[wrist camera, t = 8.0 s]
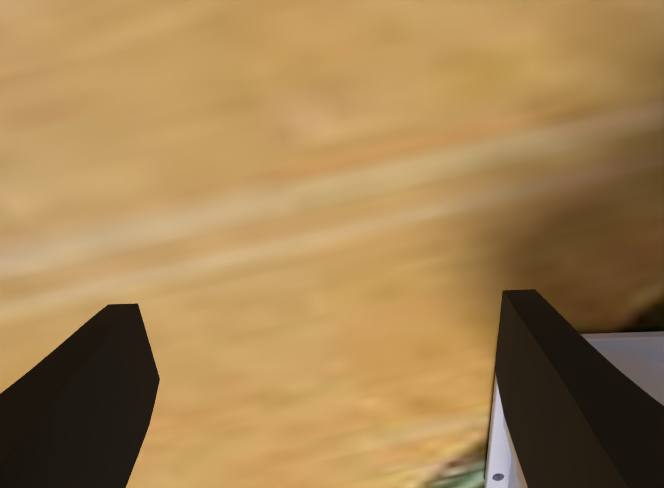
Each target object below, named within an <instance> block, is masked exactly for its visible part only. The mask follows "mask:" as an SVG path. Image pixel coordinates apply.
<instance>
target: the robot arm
mask: <svg viewBox="0 0 664 488" xmlns="http://www.w3.org/2000/svg"><path fill="white" fill-rule="evenodd" d="M495 373H496V374H495V384H494V394H493V404H492V414H491V424H490V433H489V443H488V453H487V463H486V473H485V483H484V486H485V488H664V331H660V332H629V333H597V334H579V333H578V332H577V331H576V330H575V329H574V328H573V327H572V326H571V325H570V324H569V323H568V322H567V321H566V320H565V319H564V318H563V317H562V316H561V315H560V314H559V313H558V312H557V311H556V310H555V309H554V308H553V307H552V306H551V305H550V304H549V303H548V302H547V301H546V300H545V299H544V298H543V297H542V296H541V295H540V294H539V293H538V292H537V291H536V290H535V289H531V290H503V293H502V303H501V313H500V323H499V333H498V343H497V353H496V363H495ZM159 380H160V378H159V375H158V371H157V368H156V364H155V361H154V358H153V354H152V351H151V347H150V344H149V340H148V337H147V333H146V330H145V326H144V323H143V320H142V316H141V313H140V309H139V306H138V304H113V305H107V306H106V307H105V308H103V309H102V310H101V311H99V312H98V313H97V314H96V315H95V316H93V317H92V318H91V319H90V320H89V321H87V322H86V323H85V324H84V325H83V326H82V327H80V328H79V329H78V330H77V331H76V332H75V333H74V334H72V335H71V336H70V337H69V338H68V339H67V340H65V341H64V342H63V343H62V344H61V345H60V346H58V347H57V348H56V349H55V350H54V351H53V352H51V353H50V354H49V355H48V356H47V357H45V358H44V359H43V360H42V361H41V362H40V363H38V364H37V365H36V366H35V367H34V368H32V369H31V370H30V371H29V372H28V373H26V374H25V375H24V376H23V377H21V378H20V379H19V380H17V381H16V382H15V383H14V384H12V385H11V386H10V387H8V388H7V389H6V390H5V391H3V392H2V393H1V394H0V488H126V485H127V483H128V480H129V477H130V475H131V472H132V470H133V467H134V464H135V462H136V459H137V456H138V454H139V451H140V448H141V446H142V443H143V440H144V438H145V435H146V432H147V430H148V427H149V424H150V420H151V416H152V412H153V408H154V403H155V399H156V394H157V390H158V385H159Z"/></svg>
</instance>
